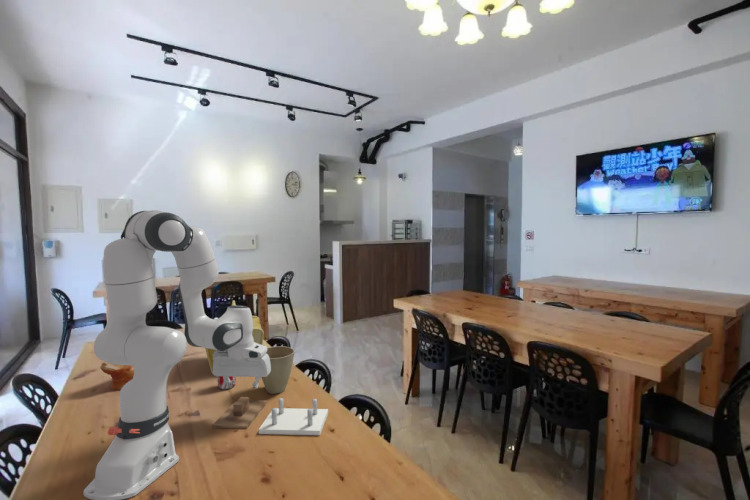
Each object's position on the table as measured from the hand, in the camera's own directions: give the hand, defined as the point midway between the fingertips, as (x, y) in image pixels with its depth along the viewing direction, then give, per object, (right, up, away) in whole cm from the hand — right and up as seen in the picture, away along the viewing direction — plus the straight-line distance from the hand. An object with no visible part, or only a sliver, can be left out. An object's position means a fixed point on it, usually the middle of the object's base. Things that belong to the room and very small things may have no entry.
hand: (242, 387), depth 129 cm
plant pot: (+7, -9, +19) cm, 22 cm away
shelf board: (0, -10, 0) cm, 10 cm away
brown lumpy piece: (-58, -9, +29) cm, 65 cm away
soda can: (-15, -9, +23) cm, 29 cm away
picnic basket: (-21, -8, +49) cm, 54 cm away
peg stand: (+20, -10, -6) cm, 23 cm away
